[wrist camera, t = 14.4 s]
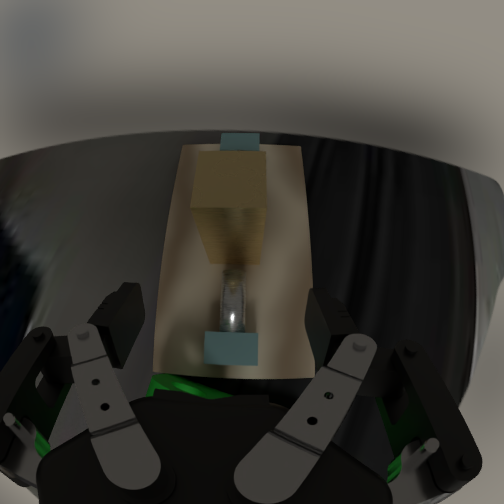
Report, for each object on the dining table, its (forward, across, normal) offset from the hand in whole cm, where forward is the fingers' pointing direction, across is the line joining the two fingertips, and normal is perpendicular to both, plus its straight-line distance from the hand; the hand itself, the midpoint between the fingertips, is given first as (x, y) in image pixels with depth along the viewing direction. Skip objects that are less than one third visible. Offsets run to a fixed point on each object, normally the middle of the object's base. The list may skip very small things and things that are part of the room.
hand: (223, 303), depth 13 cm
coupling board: (+15, 0, -3) cm, 15 cm away
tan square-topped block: (+14, 0, -2) cm, 14 cm away
